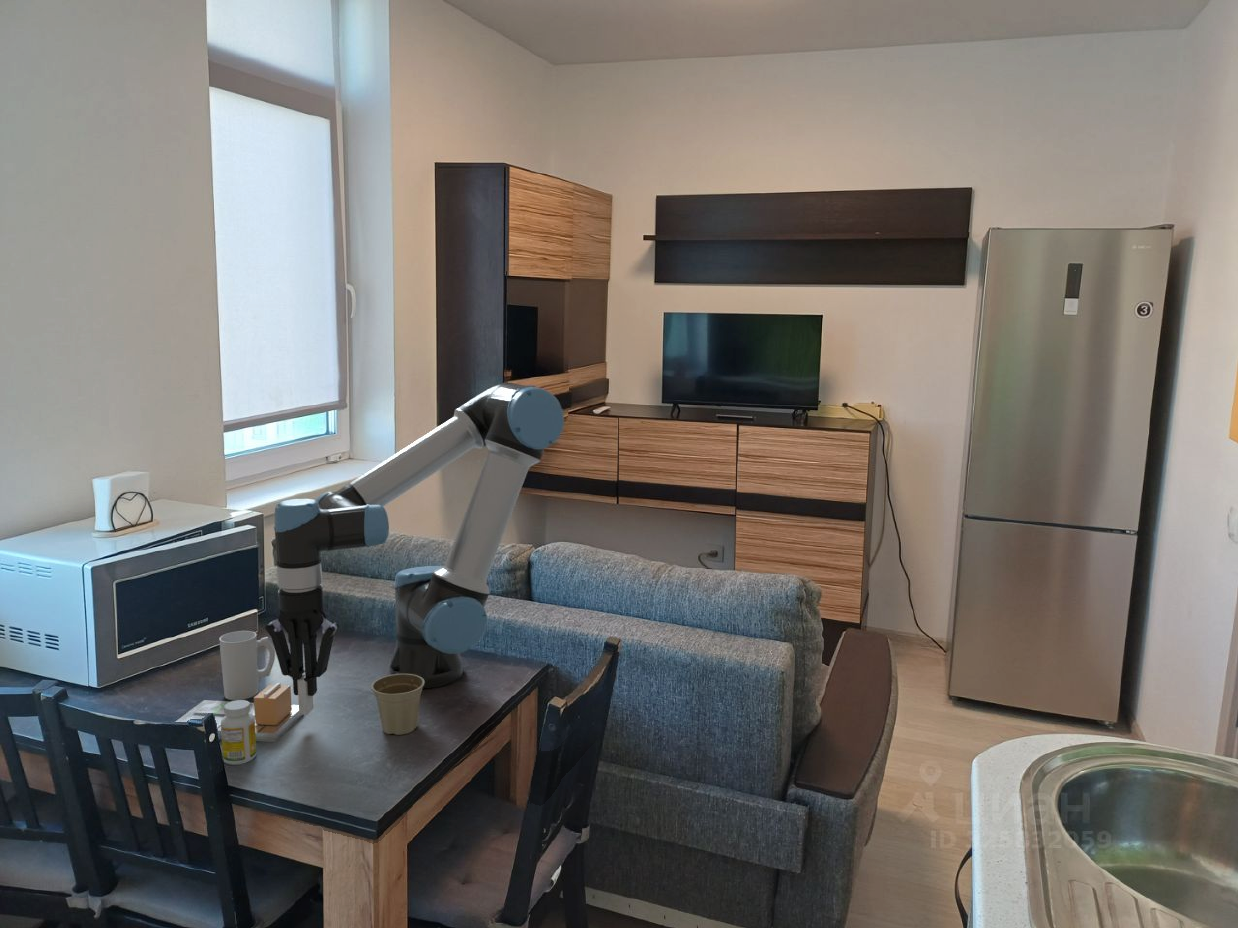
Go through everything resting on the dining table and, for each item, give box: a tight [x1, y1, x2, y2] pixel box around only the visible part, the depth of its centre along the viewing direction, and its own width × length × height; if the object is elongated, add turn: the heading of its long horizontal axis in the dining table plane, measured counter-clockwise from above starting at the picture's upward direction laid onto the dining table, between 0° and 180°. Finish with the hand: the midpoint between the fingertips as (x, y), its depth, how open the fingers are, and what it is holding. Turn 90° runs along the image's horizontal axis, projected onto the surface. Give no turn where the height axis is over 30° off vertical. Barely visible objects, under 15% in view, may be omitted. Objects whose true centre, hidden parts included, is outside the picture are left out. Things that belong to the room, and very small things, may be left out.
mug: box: [218, 630, 276, 701], centre depth 181 cm, size 10×7×12 cm, turn 121°
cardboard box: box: [253, 682, 293, 725], centre depth 167 cm, size 4×6×6 cm, turn 174°
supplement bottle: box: [221, 699, 257, 766], centre depth 155 cm, size 5×5×10 cm
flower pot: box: [370, 674, 425, 736], centre depth 166 cm, size 9×9×9 cm
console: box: [174, 699, 303, 743], centre depth 168 cm, size 20×12×2 cm, turn 84°
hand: (306, 711), depth 166 cm, fingers closed
